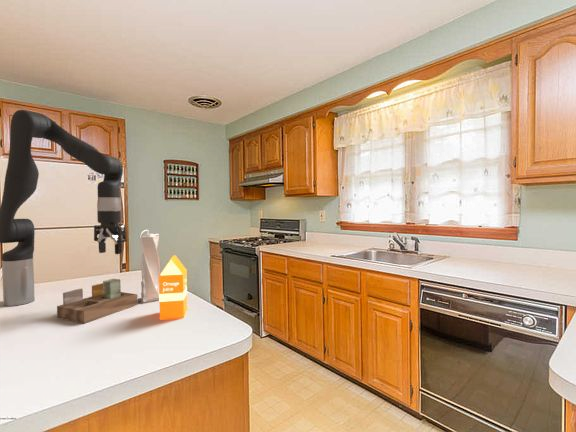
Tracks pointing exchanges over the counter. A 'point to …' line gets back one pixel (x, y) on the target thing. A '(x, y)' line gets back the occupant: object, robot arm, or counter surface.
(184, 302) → the orange juice
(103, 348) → the counter surface
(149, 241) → the skyscraper
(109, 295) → the green plug
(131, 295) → the socket block
